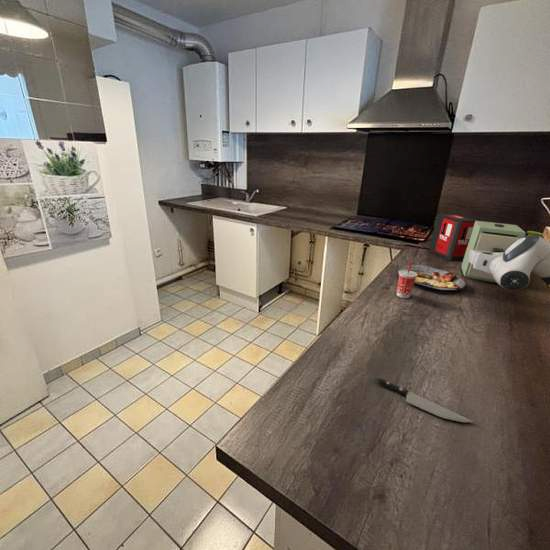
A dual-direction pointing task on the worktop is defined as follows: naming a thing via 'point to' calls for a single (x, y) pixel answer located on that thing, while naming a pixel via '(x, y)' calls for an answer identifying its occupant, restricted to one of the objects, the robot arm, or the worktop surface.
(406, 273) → the beverage cup
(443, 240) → the cleaning product box
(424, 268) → the food plate
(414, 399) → the chef's knife
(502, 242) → the basket
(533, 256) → the robot arm
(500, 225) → the box
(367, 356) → the worktop surface
